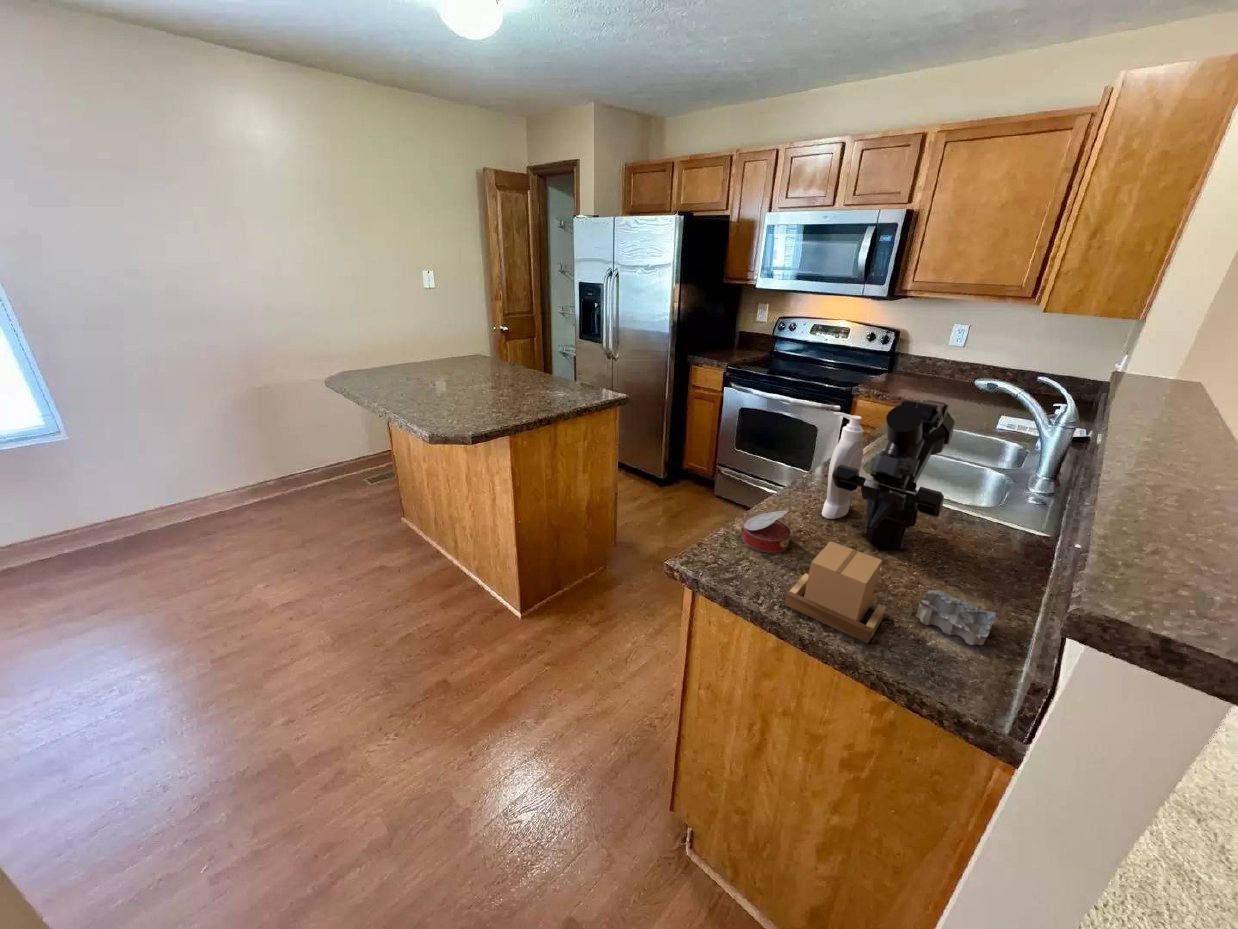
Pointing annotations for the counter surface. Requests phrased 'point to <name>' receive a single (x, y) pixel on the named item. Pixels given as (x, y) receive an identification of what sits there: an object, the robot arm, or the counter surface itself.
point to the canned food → (767, 532)
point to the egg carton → (955, 616)
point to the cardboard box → (843, 580)
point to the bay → (832, 613)
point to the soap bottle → (847, 455)
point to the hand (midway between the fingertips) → (868, 529)
